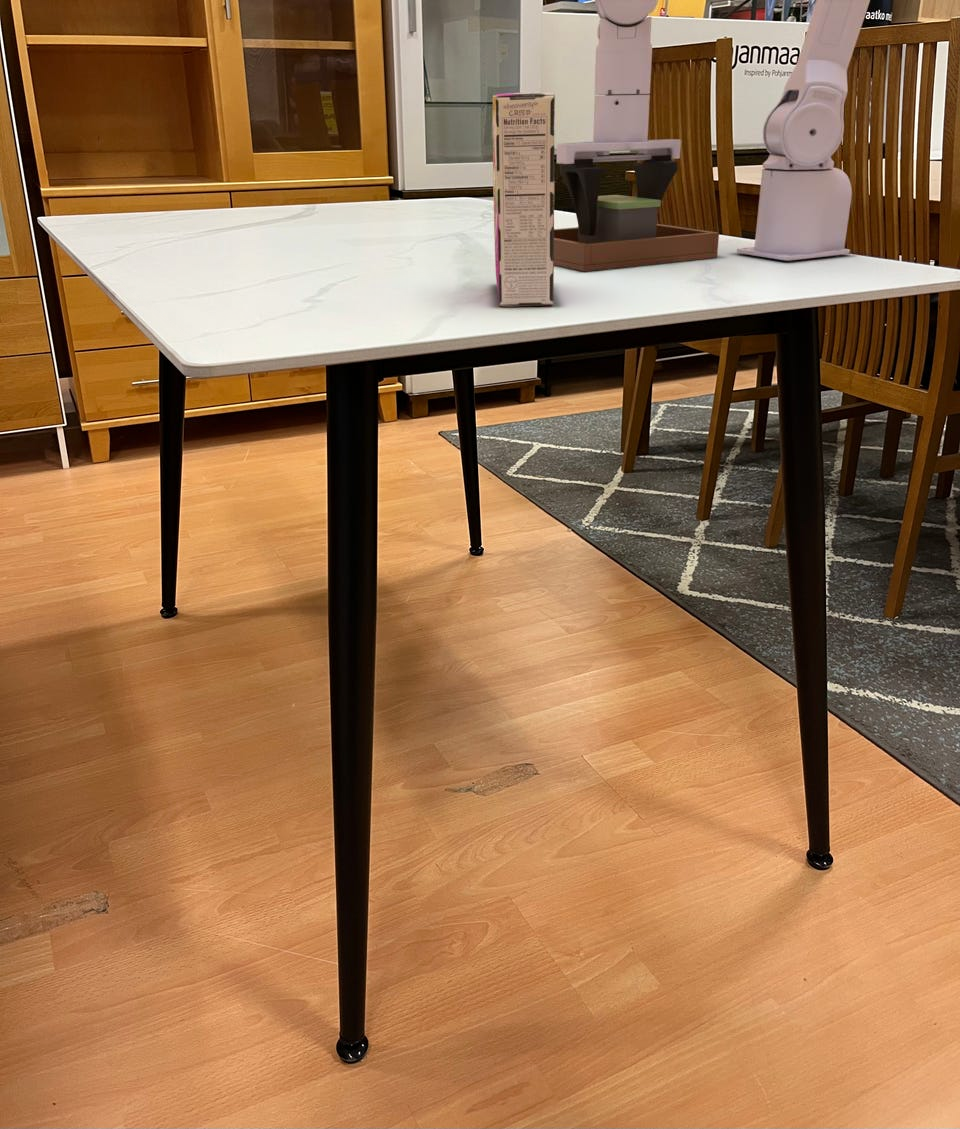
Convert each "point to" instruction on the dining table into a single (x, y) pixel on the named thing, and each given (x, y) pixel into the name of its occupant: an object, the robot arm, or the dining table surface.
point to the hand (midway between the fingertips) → (616, 232)
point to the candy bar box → (524, 197)
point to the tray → (634, 249)
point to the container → (623, 219)
